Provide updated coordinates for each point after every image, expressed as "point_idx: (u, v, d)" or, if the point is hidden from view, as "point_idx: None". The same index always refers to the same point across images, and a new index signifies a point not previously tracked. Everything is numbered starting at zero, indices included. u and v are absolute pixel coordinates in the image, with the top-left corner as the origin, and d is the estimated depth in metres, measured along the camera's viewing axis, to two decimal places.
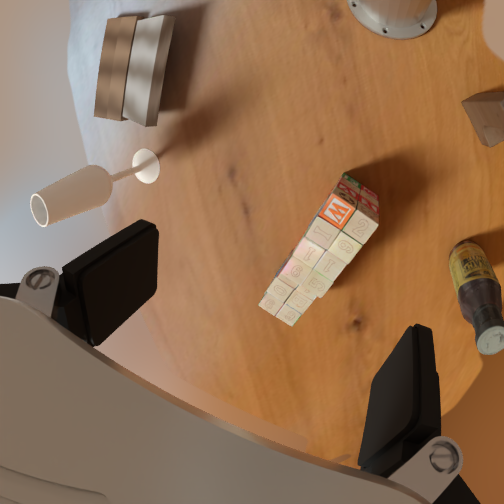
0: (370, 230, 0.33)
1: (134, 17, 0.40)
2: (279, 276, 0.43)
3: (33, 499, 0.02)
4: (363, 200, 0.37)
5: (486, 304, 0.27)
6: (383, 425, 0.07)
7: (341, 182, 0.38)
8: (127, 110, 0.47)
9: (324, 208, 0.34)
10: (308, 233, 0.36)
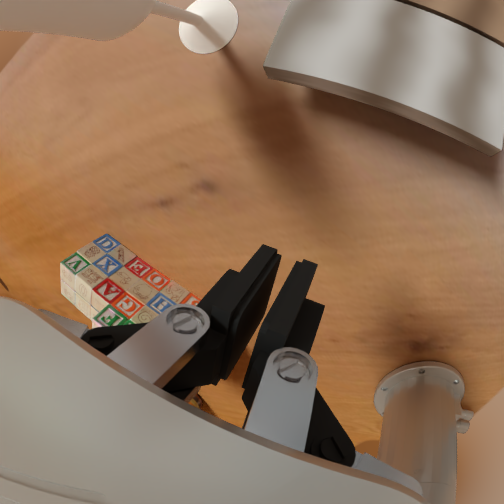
0: None
1: None
2: (94, 292, 0.34)
3: (33, 499, 0.02)
4: None
5: None
6: None
7: None
8: None
9: None
10: None
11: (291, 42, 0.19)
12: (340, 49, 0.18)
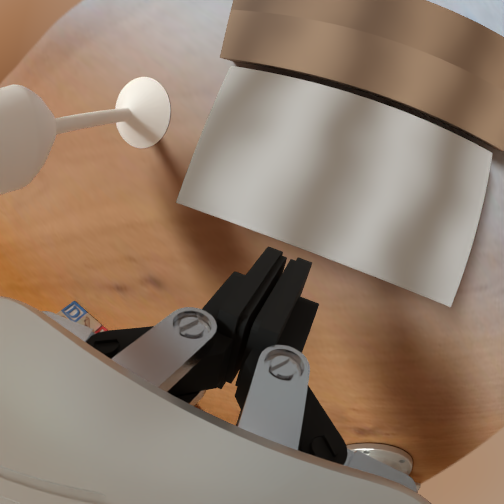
0: None
1: None
2: None
3: (33, 499, 0.02)
4: None
5: None
6: None
7: None
8: (237, 96, 0.19)
9: None
10: None
11: (208, 169, 0.19)
12: (263, 181, 0.18)
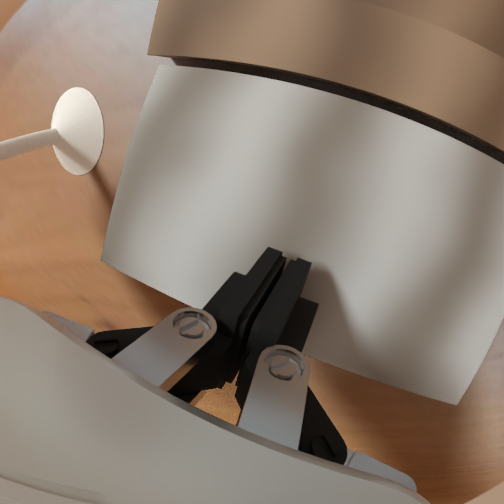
0: None
1: None
2: None
3: (33, 499, 0.02)
4: None
5: None
6: None
7: None
8: (166, 110, 0.13)
9: None
10: None
11: (132, 219, 0.14)
12: (200, 237, 0.13)
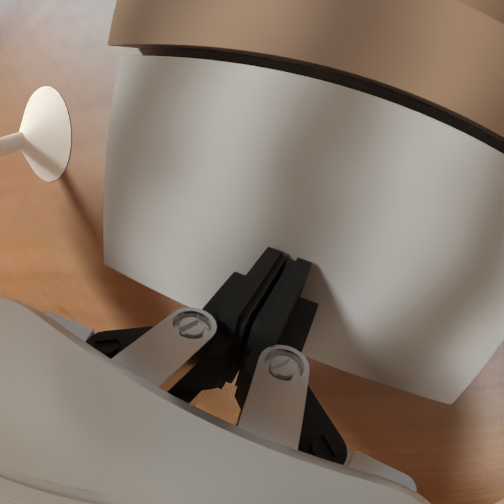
0: None
1: None
2: None
3: (33, 499, 0.02)
4: None
5: None
6: None
7: None
8: (135, 110, 0.11)
9: None
10: None
11: (124, 226, 0.13)
12: (191, 247, 0.12)
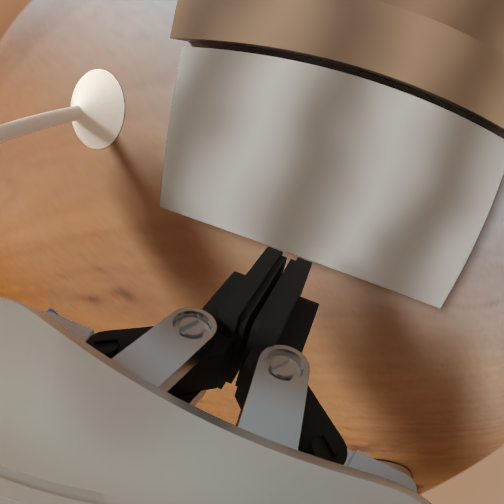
0: None
1: None
2: None
3: (33, 499, 0.02)
4: None
5: None
6: None
7: None
8: (196, 86, 0.15)
9: None
10: None
11: (182, 173, 0.18)
12: (238, 184, 0.17)
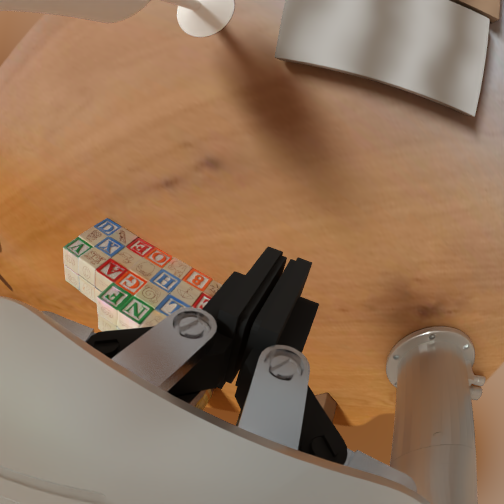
0: None
1: (496, 13, 0.14)
2: (97, 272, 0.35)
3: (33, 499, 0.02)
4: None
5: None
6: None
7: None
8: None
9: None
10: None
11: (294, 33, 0.22)
12: (336, 37, 0.21)
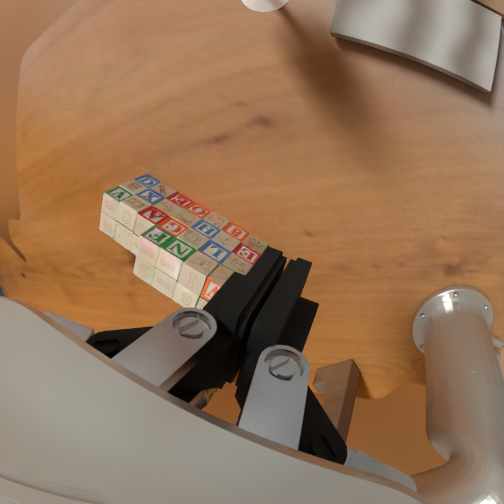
0: None
1: None
2: (139, 216, 0.37)
3: (33, 499, 0.02)
4: None
5: None
6: None
7: None
8: None
9: (215, 282, 0.33)
10: (186, 266, 0.33)
11: (347, 14, 0.24)
12: (381, 20, 0.23)
